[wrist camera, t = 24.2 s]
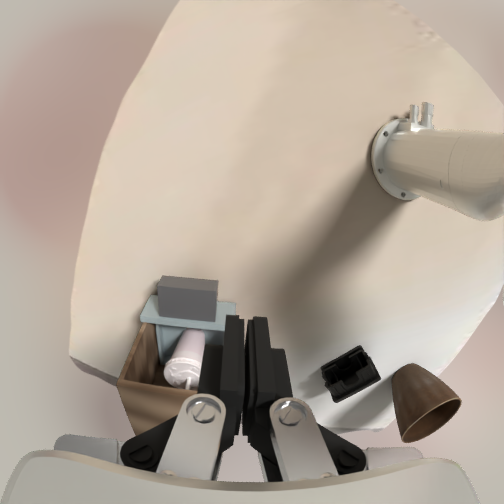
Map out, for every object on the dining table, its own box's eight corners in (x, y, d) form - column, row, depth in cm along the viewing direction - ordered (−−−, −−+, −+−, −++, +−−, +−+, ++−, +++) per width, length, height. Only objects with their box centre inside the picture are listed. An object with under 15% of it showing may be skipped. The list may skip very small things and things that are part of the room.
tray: (148, 266, 40) (136, 285, 34) (238, 274, 41) (238, 295, 36) (157, 352, 46) (149, 375, 41) (230, 360, 48) (230, 384, 42)
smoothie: (213, 350, 45) (207, 416, 32) (177, 348, 45) (161, 411, 32) (212, 320, 43) (204, 387, 30) (172, 318, 43) (152, 383, 30)
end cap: (331, 384, 53) (338, 408, 46) (317, 367, 50) (325, 392, 44) (372, 361, 51) (384, 384, 45) (362, 342, 49) (374, 366, 42)
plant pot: (432, 340, 50) (467, 387, 35) (428, 377, 56) (455, 419, 41) (375, 369, 52) (403, 424, 37) (379, 402, 57) (400, 450, 42)
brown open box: (153, 300, 43) (116, 384, 26) (233, 307, 44) (231, 400, 27) (159, 354, 47) (136, 436, 30) (228, 361, 48) (226, 448, 31)
